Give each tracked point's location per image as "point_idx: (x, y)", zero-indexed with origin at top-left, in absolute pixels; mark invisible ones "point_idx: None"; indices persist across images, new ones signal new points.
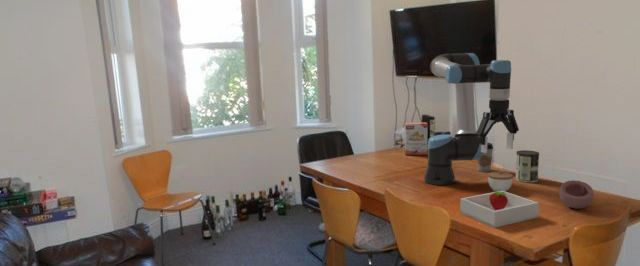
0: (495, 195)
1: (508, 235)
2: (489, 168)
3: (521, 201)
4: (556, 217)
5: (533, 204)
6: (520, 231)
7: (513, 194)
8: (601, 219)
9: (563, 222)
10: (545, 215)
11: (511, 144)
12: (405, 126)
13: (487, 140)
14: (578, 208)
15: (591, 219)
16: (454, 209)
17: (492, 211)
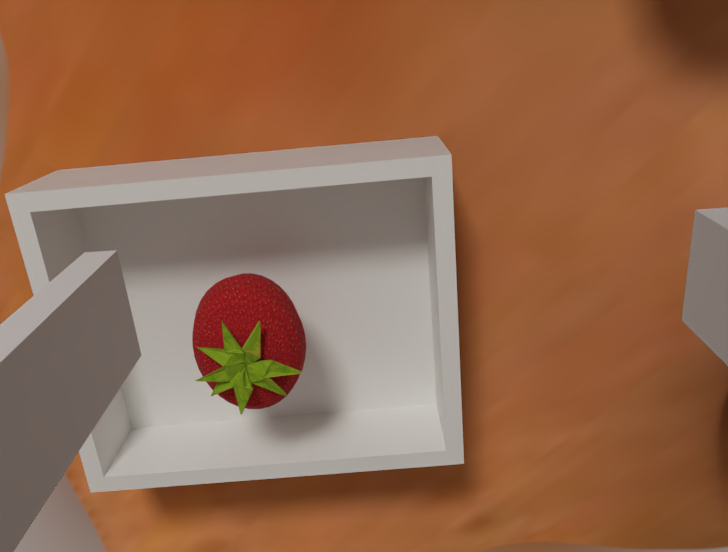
0: (213, 361)
1: (137, 522)
2: None
3: (438, 344)
4: (544, 438)
5: (417, 464)
6: (223, 507)
7: (452, 272)
8: (715, 530)
9: (512, 497)
10: (518, 396)
11: (724, 362)
12: None
13: (38, 508)
14: None
15: (673, 515)
16: (50, 92)
17: (87, 477)
